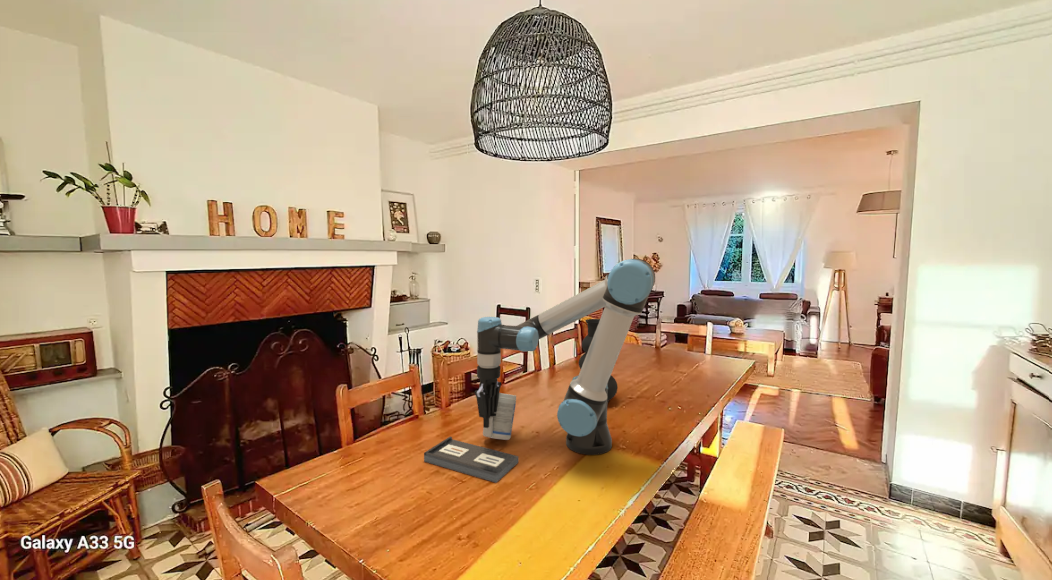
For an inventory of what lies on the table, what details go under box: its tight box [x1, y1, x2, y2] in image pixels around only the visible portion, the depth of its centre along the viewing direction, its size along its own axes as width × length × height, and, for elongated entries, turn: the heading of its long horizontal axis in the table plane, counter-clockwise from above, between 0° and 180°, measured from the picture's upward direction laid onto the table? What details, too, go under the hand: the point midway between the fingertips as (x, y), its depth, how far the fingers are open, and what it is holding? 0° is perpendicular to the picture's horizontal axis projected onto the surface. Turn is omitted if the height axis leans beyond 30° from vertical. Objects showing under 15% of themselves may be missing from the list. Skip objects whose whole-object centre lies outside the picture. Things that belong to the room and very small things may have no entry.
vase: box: [577, 318, 618, 404], centre depth 183 cm, size 18×18×35 cm
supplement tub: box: [490, 392, 517, 441], centre depth 148 cm, size 10×10×15 cm
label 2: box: [473, 453, 505, 467], centre depth 130 cm, size 8×5×1 cm, turn 62°
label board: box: [423, 436, 519, 484], centre depth 134 cm, size 26×13×3 cm, turn 62°
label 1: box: [439, 444, 469, 457], centre depth 136 cm, size 8×5×1 cm, turn 62°
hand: (487, 435), depth 142 cm, fingers closed
